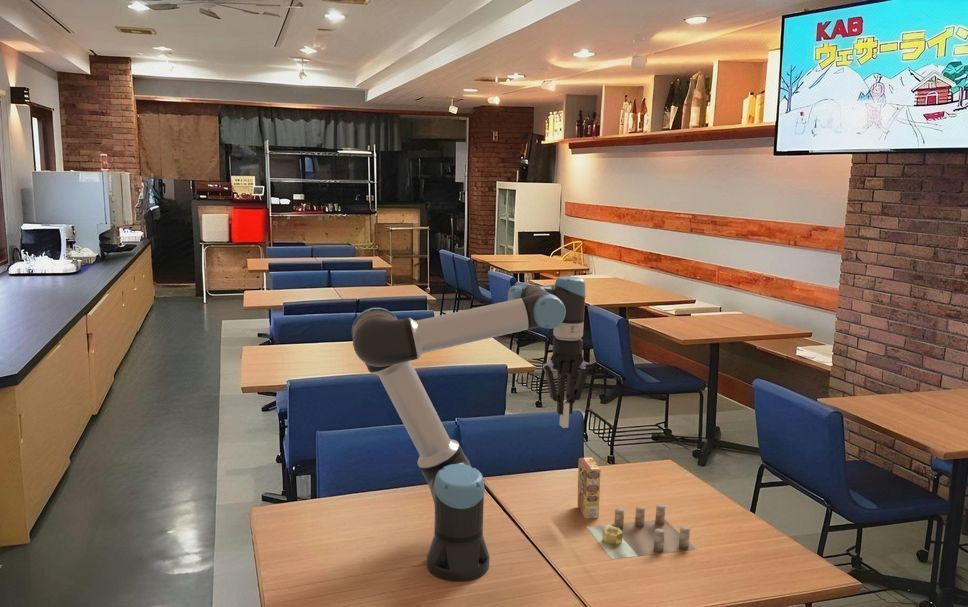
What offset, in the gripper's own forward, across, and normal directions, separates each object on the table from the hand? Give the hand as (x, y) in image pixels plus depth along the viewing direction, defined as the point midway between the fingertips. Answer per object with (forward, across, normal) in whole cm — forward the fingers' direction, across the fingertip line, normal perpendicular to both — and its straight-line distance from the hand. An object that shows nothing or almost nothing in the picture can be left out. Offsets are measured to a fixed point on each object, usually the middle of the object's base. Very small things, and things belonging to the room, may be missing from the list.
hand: (563, 425), depth 191 cm
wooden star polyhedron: (+28, +11, -10) cm, 32 cm away
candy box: (+29, +11, +7) cm, 32 cm away
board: (+29, +19, -10) cm, 36 cm away
